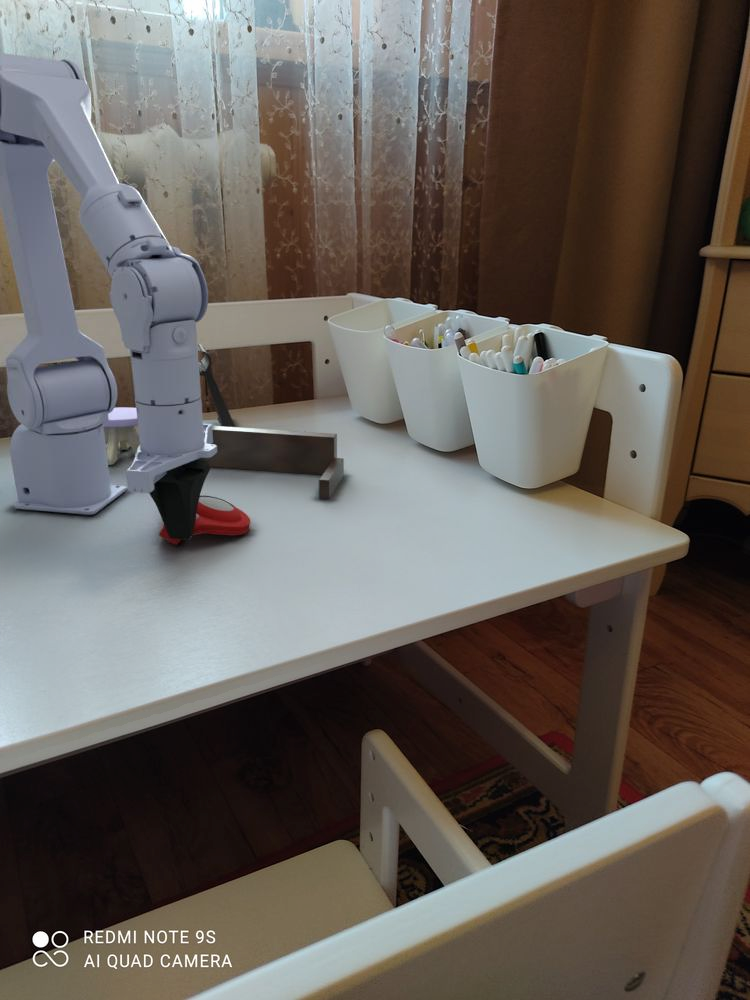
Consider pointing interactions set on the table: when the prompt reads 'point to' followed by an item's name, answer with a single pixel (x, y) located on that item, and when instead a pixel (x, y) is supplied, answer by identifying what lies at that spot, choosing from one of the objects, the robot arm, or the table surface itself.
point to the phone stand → (214, 393)
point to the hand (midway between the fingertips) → (180, 536)
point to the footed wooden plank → (280, 453)
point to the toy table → (121, 432)
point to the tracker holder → (216, 519)
